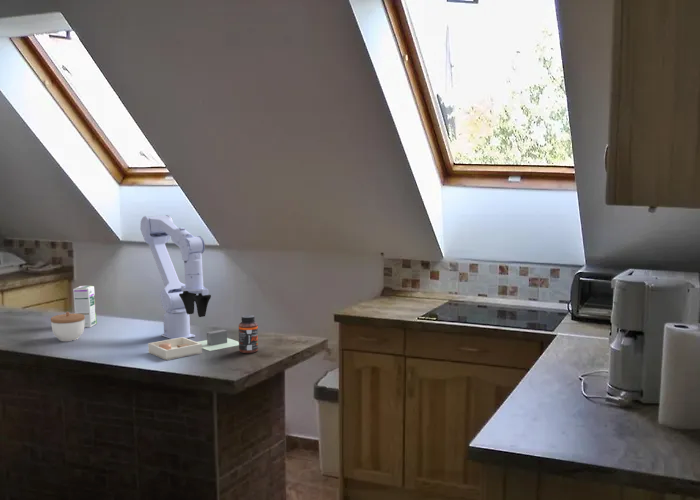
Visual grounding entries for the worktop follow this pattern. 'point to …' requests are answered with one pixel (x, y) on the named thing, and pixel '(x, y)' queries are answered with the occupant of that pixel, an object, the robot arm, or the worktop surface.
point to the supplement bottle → (248, 335)
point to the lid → (218, 341)
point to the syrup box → (85, 304)
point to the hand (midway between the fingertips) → (196, 315)
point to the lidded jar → (68, 326)
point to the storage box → (174, 348)
